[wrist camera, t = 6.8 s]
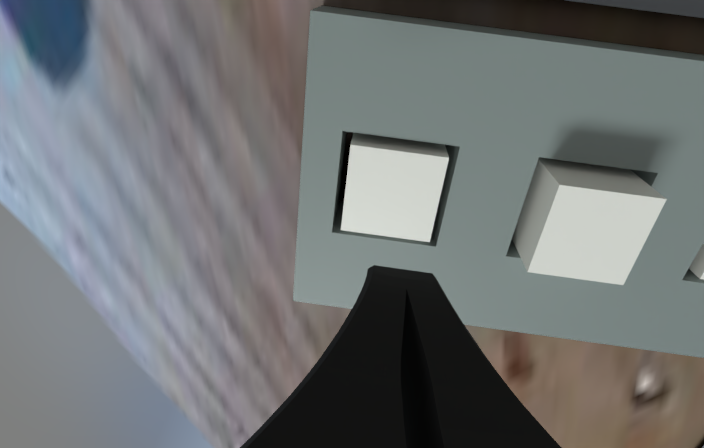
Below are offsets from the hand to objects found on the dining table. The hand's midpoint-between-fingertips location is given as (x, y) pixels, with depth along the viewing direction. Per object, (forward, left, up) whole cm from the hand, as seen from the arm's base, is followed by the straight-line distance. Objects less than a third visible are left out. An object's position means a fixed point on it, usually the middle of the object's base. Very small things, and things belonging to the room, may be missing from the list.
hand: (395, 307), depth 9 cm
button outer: (0, 0, -8) cm, 8 cm away
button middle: (-6, 0, -7) cm, 9 cm away
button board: (-6, 0, -8) cm, 10 cm away
